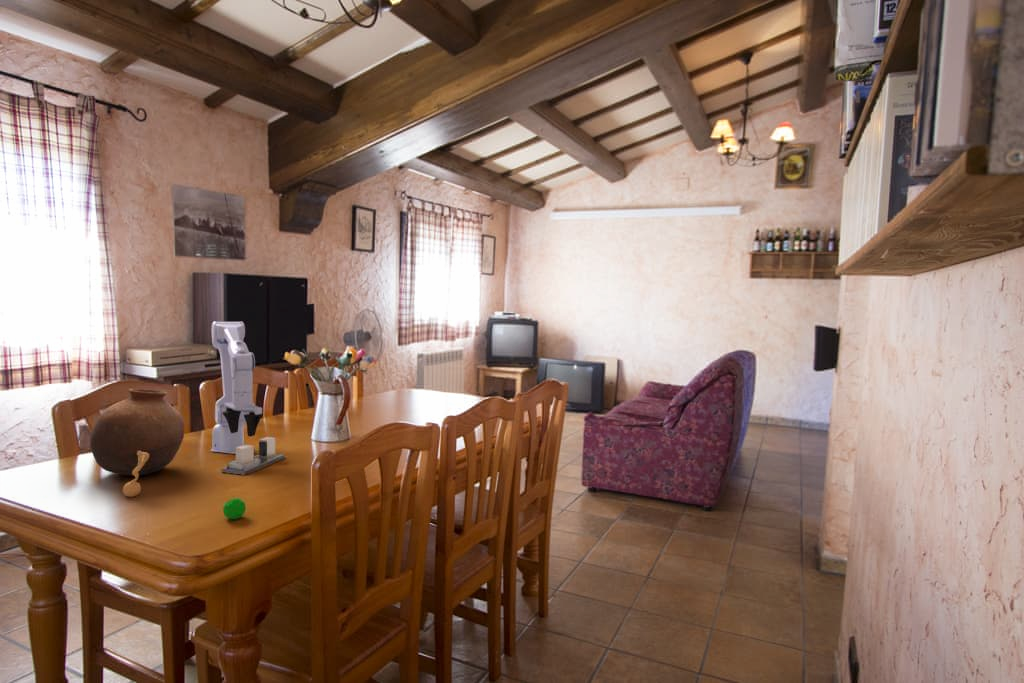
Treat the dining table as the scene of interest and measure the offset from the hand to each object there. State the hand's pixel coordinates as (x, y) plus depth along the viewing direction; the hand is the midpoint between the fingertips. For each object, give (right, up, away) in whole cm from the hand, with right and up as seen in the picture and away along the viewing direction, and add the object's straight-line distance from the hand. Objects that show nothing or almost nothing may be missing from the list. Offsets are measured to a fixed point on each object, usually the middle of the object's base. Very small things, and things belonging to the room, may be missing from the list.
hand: (242, 434), depth 189 cm
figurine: (-14, -12, -31) cm, 36 cm away
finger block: (+3, -9, -6) cm, 11 cm away
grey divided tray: (+4, -10, -1) cm, 10 cm away
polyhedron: (+18, -14, -44) cm, 50 cm away
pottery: (-24, -10, -12) cm, 29 cm away
